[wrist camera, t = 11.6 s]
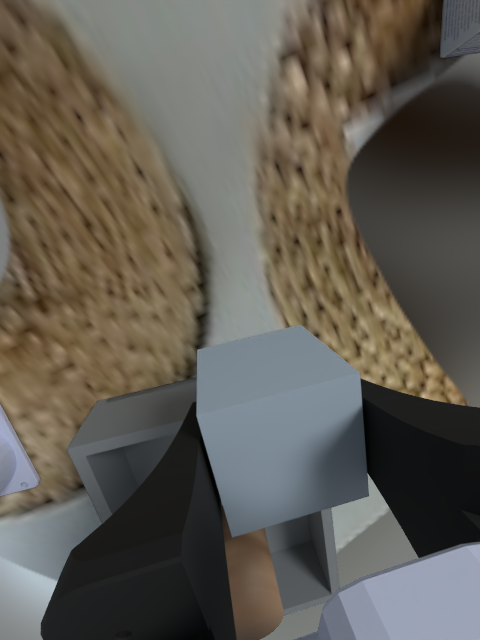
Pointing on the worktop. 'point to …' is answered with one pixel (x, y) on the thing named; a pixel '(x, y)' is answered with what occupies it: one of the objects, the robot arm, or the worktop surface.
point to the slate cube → (281, 427)
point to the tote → (283, 539)
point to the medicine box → (460, 28)
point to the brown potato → (252, 583)
